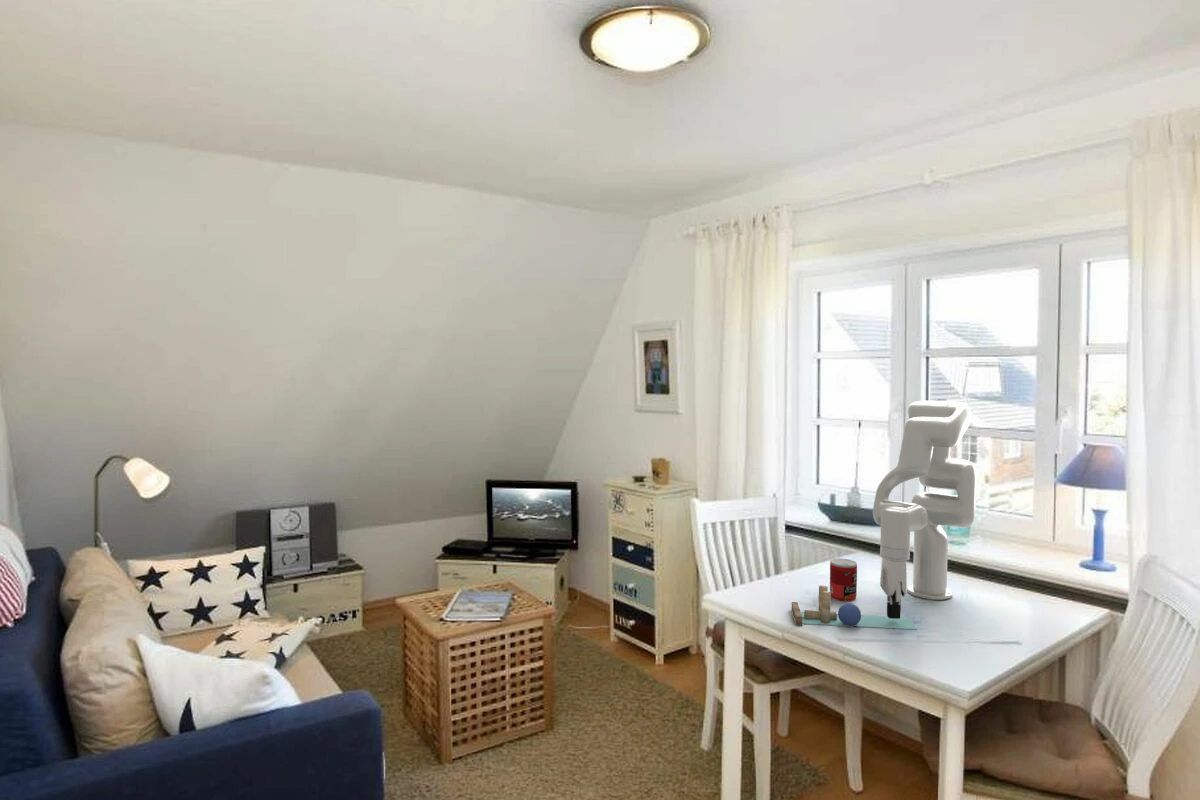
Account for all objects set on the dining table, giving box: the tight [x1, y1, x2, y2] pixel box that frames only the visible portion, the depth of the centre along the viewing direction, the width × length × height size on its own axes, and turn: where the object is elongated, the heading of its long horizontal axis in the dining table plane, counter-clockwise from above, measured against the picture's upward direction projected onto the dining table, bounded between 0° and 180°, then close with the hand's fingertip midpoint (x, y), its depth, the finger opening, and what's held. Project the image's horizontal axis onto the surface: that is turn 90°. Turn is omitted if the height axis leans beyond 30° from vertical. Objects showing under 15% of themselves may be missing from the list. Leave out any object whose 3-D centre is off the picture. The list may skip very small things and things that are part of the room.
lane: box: [801, 611, 918, 631], centre depth 201 cm, size 9×30×1 cm, turn 81°
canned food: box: [829, 558, 858, 602], centre depth 220 cm, size 8×8×11 cm
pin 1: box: [818, 584, 829, 611], centre depth 204 cm, size 2×2×8 cm
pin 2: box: [821, 590, 832, 623], centre depth 199 cm, size 2×2×8 cm
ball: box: [837, 602, 862, 627], centre depth 197 cm, size 6×6×6 cm
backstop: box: [791, 601, 803, 627], centre depth 203 cm, size 12×2×2 cm, turn 171°
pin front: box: [803, 609, 838, 620], centre depth 202 cm, size 2×2×8 cm
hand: (893, 617), depth 199 cm, fingers closed
